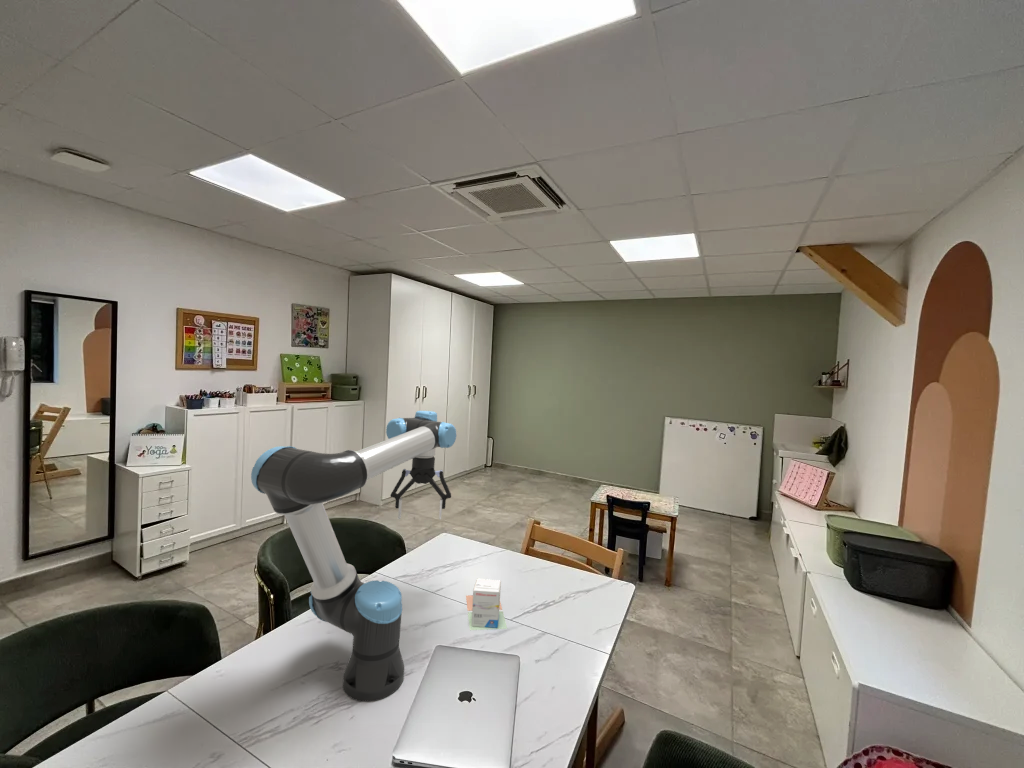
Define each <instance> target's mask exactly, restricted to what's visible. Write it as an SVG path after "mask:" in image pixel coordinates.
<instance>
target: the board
mask: <svg viewBox="0 0 1024 768" xmlns="http://www.w3.org/2000/svg"><path fill="white" fill-rule="evenodd" d="M465 599H466V607H467V609H466V610H467V617H468V619H467V620H468V626H469V631H484V630H487V631H488V630H507V629H508V627H507V622H506V619H505V615H504V611H503V607H502V604H501V602H500V608H499V621H498V628H491V627H475V626H472V608H473V594H472V595H471V594H470V595H465Z"/></svg>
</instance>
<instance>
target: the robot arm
mask: <svg viewBox="0 0 1024 768" xmlns="http://www.w3.org/2000/svg"><path fill="white" fill-rule="evenodd" d="M385 428H386V429H385V430H386V431H385V433H386V437H387V439H385V440H383V441H381V442H377V443H375V444H372V445H369V446H367V447H364V448H361V449H359V450H357V451H355V450H354V449H353V450H352V449H347V450H343V451H340V452H337V453H335V452H334V453H326V452H325V453H322V452H316V451H312V450H311V451H310V450H307V449H306V450H305V449H299V448H296V447H295V446H291V445H288V446H282V445H281V446H280V445H279V446H275V447H271V448H270V449H267V450H265V452H262V454H261V455H260V456H258V458H257V459H256V461H255V463H254V465H253V467H252V469H251V474H250V478H251V483H252V486H253V487H254V488H255V489H256V490H257V491H258V492H260V493H262V494H264V495H265V494H266V497H267V498H268V501H269V503H270V505H271V507H272V509H273V511H274V512H275V514H277V515H283V516H284V517H285V519H286V522H287V525H288V526H289V528H290V531H291V533H292V536H293V537H294V539H295V542H296V544H297V546H298V549H299V551H300V554H301V555H302V558H303V560H304V563H305V565H306V567H307V570H308V572H309V575H310V576H311V579H312V581H313V582H312V585H311V586H310V594H311V595H310V596H309V597H308V604H309V609H310V611H311V613H312V614H313V615H314V616H316V617H317V618H318V619H319V620H320V621H322V622H325V623H328V624H330V625H332V626H335V627H337V628H339V629H341V630H343V631H344V632H347V633H348V634H350V635H352V638H353V639H352V649H351V650H352V651H351V654H350V657H349V659H348V662H347V664H346V668H345V669H344V673H343V679H342V688H343V691H344V693H345V694H346V696H347V697H349V698H350V699H353V700H356V701H358V702H374V701H378V700H382V699H385V698H386V697H389V696H391V695H392V694H393V693H394V692H396V691H397V690H398V689H400V687H401V686H402V684H403V682H404V679H405V664H404V663H405V662H404V660H403V656H402V652H401V649H400V648H401V647H400V640H401V639H400V638H401V637H400V636H401V626H402V625H401V624H402V613H403V603H402V602H403V600H402V597H403V596H402V591H401V590H400V588H399V587H398V586H397V585H396V584H394V583H393V582H389V581H386V580H381V581H380V580H370V581H367V582H362V580H360V578H359V576H358V573H357V570H356V568H355V566H354V565H352V564H350V563H347V561H346V560H345V556H344V554H343V551H342V549H341V546H340V544H339V541H338V539H337V537H336V533H335V531H334V529H333V526H332V523H331V521H330V518H329V516H328V513H327V510H326V509H325V505H324V503H327V502H330V501H332V500H335V499H336V500H337V499H338V498H341V497H344V496H346V495H349V494H351V493H353V492H355V491H357V490H359V489H362V488H363V487H365V486H366V485H367V482H368V480H370V479H373V478H375V477H377V476H378V475H381V474H383V473H385V472H387V471H390V470H392V469H394V468H395V467H398V466H400V465H401V464H404V463H406V462H408V461H410V460H412V461H411V462H412V463H411V470H409V469H406V468H403V469H402V471H401V476H400V477H399V479H398V481H397V483H396V484H395V486H394V488H393V490H392V492H391V494H390V497H391V498H394V499H395V506H394V507H395V509H397V510H398V511H397V512H398V513H397V520H401V518H402V506H403V497H402V496H404V494H405V493H406V492H407V491H408V490H409V489H410V488H411V487H412V485H414V484H415V483H416V484H425V485H427V484H430V485H431V486H432V488H433V489H434V491H436V493H437V494H438V495H439V496H440V498H439V512H438V513H439V514H438V519H439V520H442V513H443V511H442V510H445V509H446V503H447V502H446V501H447V500H448V499H451V498H452V493H451V491H450V488H449V486H448V484H447V481H446V479H445V477H444V470H443V469H439V470H435V465H436V463H435V462H436V457H435V455H436V448H441V449H443V448H445V449H448V448H451V447H452V446H453V445H454V444H455V443H456V439H457V429H456V427H455V426H454V424H453V423H450V422H449V423H448V422H445V421H438V413H437V412H435V411H434V410H417V411H415V415H414V417H398V418H392V419H390V421H388V423H387V424H386V427H385ZM409 475H410V476H411V479H410V480H409V481H408V482H407V484H405V485H404V487H402V489H401V490H400V491H399V489H400V487H401V485H402V483H403V482H404V480H405V478H406V477H408V476H409ZM435 476H437V478H439V480H440V483H441V485H442V488H443V489H444V491H445V493H444V491H443V490H442V489H441V487H439V485H438V484H437V483H436V481H435V480H434V477H435ZM398 491H399V492H398ZM397 492H398V493H397Z"/></svg>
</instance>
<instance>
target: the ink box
mask: <svg viewBox="0 0 1024 768" xmlns="http://www.w3.org/2000/svg"><path fill="white" fill-rule="evenodd" d="M501 587H502V581H501V580H500V579H489V578H488V579H487V578H476V579H475V584H474V587H473V591H472V595H473V608H472V611H471V612H472V626H475V627H491V628H498V621H499V611H500V610H499V608H500V603H501V590H502V589H501Z"/></svg>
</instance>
